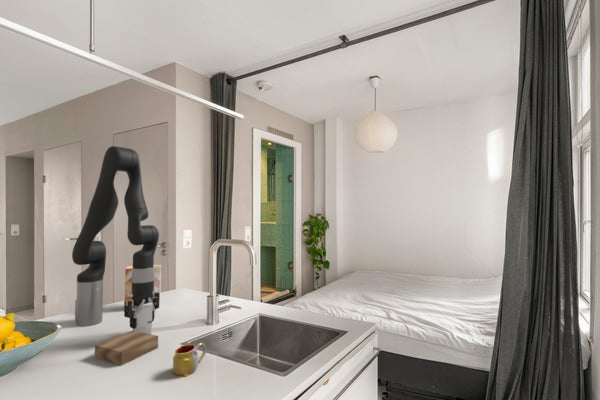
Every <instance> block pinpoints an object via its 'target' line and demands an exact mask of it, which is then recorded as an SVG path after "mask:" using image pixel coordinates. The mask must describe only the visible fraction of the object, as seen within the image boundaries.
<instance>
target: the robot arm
mask: <svg viewBox="0 0 600 400" xmlns="http://www.w3.org/2000/svg"><path fill="white" fill-rule="evenodd" d="M100 169H101V170H100V174H99V178H98V181H97V184H96V188H95V190H94V193H93V197H92V199H91V201H90V203H89V204H90V205H89V208H88V212H87V214H86V217H85V221H84V223H83V226H82V229H81V230H80V233H79V235H78V237H77V238H76V241H75V243H74V246H73V248H72V253H71V257H72V261H73V263H74V264H75V265H78V266H83V265H84V266H85V265H89V266H88V267H87V268H86V269H85V270H83V271H81V272H80V273H78V274H77V276H76V299H75V301H74V303H75V304H74V306H75V307H74V323H75V324H76V326H78V327H79V326H80V327H82V326H83V327H85V326H86V327H87V326H88V327H89V326H93V325H96V324H99V323H101V322H102V321H103V313H104V311H103V310H104V308H103V307H104V275H105V272H106V261H107V248H106V244H105V243H104V242H103V241H101V240H95V238H96V237H97V235H98V234H99V233H100V232H101V231H102V230H104V228H106V226H107V225H109V224H110V223H111V221H113V219H114V217H115V214H116V212H117V209H118V207H119V197H118V194H117V191H116V188H115V177H116V174H117V172H125V173H126V174H127V177H128V186H127V189H126V192H125V194H124V197H123V198H124V200H123V203H124V206H125V212H126V215H127V234H126V235H127V239H128V241H129V243H130V244H131V245H133V246H142V248H141V249H140V250H137V251H136V252H134V253H133V255H132V266H133V270H132V294H133V297H132V299H131V300H125V299H124V305H123V306H124V307H123V308H124V309H123V310H124V315H123V316H124V317H125V318H127V319H128V318H129V327H130V329H132V330H133V329H135V328H136V327H137V318H136V316H137V314H138V312H140V310H141V308H142V306H143V304H146V303H152V323H153V322H154V320H155V312H156V311H157V309H159V299H160V300H161V292H160V293H157V292H153V291H154V265H155V264H154V263H155V262H154V261H155V260H154V257H155V253H156V249H157V246H158V242H159V239H160V233H159V229H158V228H157V227H156V226H155V225H150V224H148V225H147V224H146V225H142V224H141V222H143V221H146V219H148V218H149V211H148V207H147V203H146V201H145V196H144V192H143V181H142V172H141V171H142V170H141V161H140V157H139V154H138V152H137V151H136V150H134V149H132V148H127V147H121V146H116V145H111V146H109V147H108V148H107V150H106V151H105V153H104V156H103V160H102V164H101V168H100ZM152 292H153V293H152ZM135 306H137V307H138V308H137V309H135Z"/></svg>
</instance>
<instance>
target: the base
mask: <svg viewBox="0 0 600 400" xmlns="http://www.w3.org/2000/svg"><path fill="white" fill-rule="evenodd" d="M157 349H159V336H158V335H157V334H146V333H142V332H137V331H133V330H131V331H128V332H126V333H123V334H121V335H120V334H119V335H118V336H115V337H113V338H110V339H107V340H105V341H103V342H100V343H97V344H95V345H94V358H95V359H97V360H100V361H104V362H108V363H111V364H114V365H117V366H123V365H125V364H127V363H129V362H132V361H134V360H136V359H139V358H140V357H142V356H144V355H146V354H149V353H151V352H152V351H154V350H157Z"/></svg>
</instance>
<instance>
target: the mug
mask: <svg viewBox="0 0 600 400" xmlns="http://www.w3.org/2000/svg"><path fill="white" fill-rule="evenodd" d="M201 346H202V348H203V350H202V354H201V355H200V356H199V354H198V351H197V350H198V349H199V348H200V347H201ZM207 351H208V349H207V345H206V344H205V343H203V342H199V343H198V344H196V345H195V344H184V345H180V346H178V348H177V349H175V352H174V356H173V357H172V369H173V370H171V371H172V372H171V373H172V374H176V375H177V376H181V377H182V376H183V377H184V378H186V377H188V376H189V375H192V374H194V372H196V370H197V368H198V367H199V363H201V361H202V360H203V359H204V357H205V356H206V353H207Z"/></svg>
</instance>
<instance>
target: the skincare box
mask: <svg viewBox="0 0 600 400" xmlns="http://www.w3.org/2000/svg"><path fill="white" fill-rule="evenodd" d="M137 308H138V307H137V306H135V309H137ZM136 318H137V327H136V328H135V329H133V328H132V331H137V332H142V333H146V334H151V335H153V334H152V333H153V332H152V330H153V329H152V328H153V327H152V326H153V325H152V324H153V322H152V303H146V304H143V306H142V308H141V310H140V312H138V314H137V316H136Z"/></svg>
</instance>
